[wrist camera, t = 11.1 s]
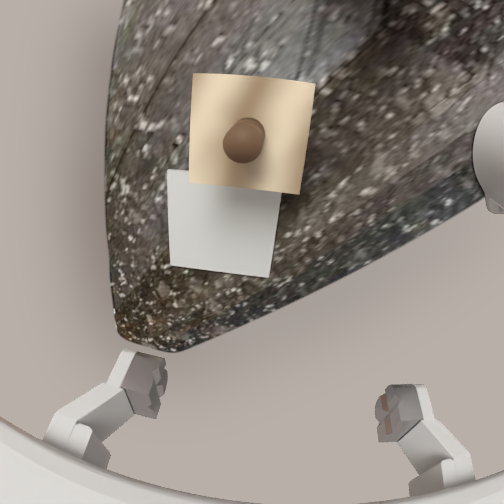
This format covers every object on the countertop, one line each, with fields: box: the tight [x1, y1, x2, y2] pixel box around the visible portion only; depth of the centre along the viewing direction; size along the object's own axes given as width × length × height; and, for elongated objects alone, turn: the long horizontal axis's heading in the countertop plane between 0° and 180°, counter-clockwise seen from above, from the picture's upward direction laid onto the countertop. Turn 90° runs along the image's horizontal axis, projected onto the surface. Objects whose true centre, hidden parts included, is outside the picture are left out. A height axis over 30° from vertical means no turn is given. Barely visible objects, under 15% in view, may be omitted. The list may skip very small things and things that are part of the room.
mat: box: [167, 169, 282, 278], centre depth 40 cm, size 14×14×1 cm
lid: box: [189, 73, 315, 195], centre depth 23 cm, size 10×10×6 cm
